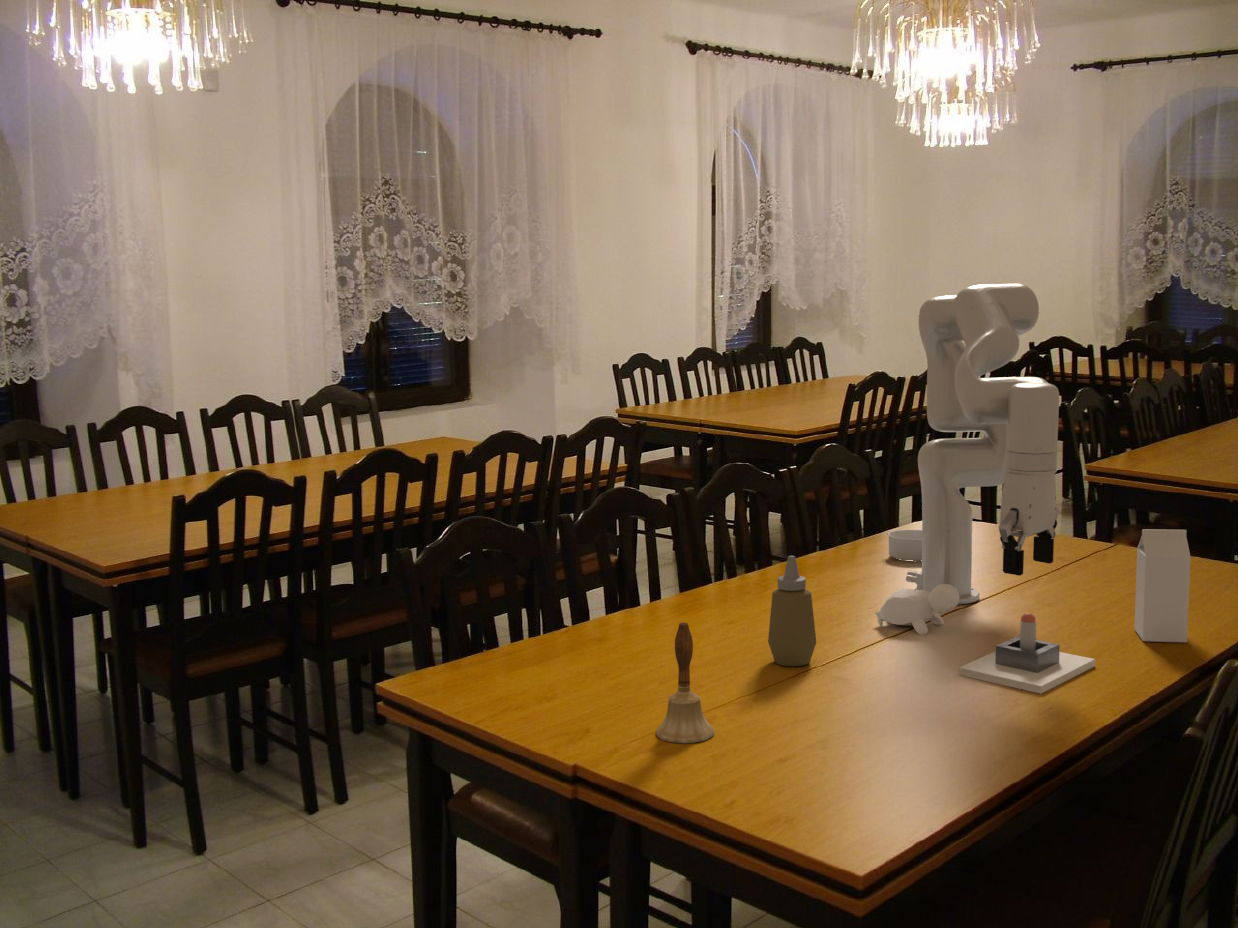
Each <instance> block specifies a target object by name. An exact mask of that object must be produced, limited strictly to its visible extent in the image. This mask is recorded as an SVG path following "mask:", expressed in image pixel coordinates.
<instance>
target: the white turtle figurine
mask: <svg viewBox="0 0 1238 928" xmlns="http://www.w3.org/2000/svg"><path fill="white" fill-rule="evenodd" d="M914 589H915V588H913V589H912V588H901V589H898V590H896V591H894V592H893V593H891V594H890V595H889V596H888V598H887V599H886V600H885V602H884V603H883V604H882V606H881V607H880V610H878V611H877V612H875V615H876V618H877V623H878V626H879V627H883V625H884V622H886V623H887V624H893V625H898V626H904V627H905V626H906V627H907V626H913V628H914V630H915V631H916V633H917V634H918V635H920V636H925V635H927V634H928V632H929V628H928V626H927V623H926V622H928V621H930V622H932V623H933V624H934V625H936V626H943V624H944V619H943V618H942V616H941V615H940V614H941V613H944V612H945V613H946V612H951V611H952V610H954V608H955V607H956V606H958V605H959V604H958V602H959V594H958V592H957V589H956V588H955V587H953V586H952V585H949V584H940V585H938V586H937V587H935V588H934V589H933V590H932V591H931V593H930V592H928V591H926V590H914Z"/></svg>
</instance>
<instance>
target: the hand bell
mask: <svg viewBox="0 0 1238 928" xmlns="http://www.w3.org/2000/svg"><path fill="white" fill-rule="evenodd" d="M676 631H677V632H676V634H675V638H674V653H675V659H676V662H677V667H678V674H677V675H678V682H677V691H676V692H674V693H672V694H671V695H670V696H669V697H668V701H667V702H668V704H667V709H666V714H665V717H664V719H663V720H662V723H661V724H660V725H659V726H657V729H656V730H655V735H656V736H657V738H659V739H660V740H662V741H665V742H668V743H675V744H676V743H677V744H695V743H699V742H700V743H701V742H705V741H707V740H710V739H711V738H712V737H714V736H715V733H716V732H715V729H714V727H713V726H712V724H710V723H709V722H708V721H707V719H706V717H705V716H704V712H703V708H702V701H701V697H700V696H699V695H698V694H697V693H695V692H692V691H691V687H690V686H691V681H690V680H691V677H690V676H691V675H690V671H691V670H690V666H691V662H692V658H693V652H694V641H693V636H692V633H691V630H690V626H689V623H688V622H680V623H678V629H677V630H676Z"/></svg>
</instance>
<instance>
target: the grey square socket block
mask: <svg viewBox="0 0 1238 928" xmlns="http://www.w3.org/2000/svg"><path fill="white" fill-rule="evenodd" d="M995 651H996V661H995V664H998V665H1003V666H1008V667H1012V668H1017V669H1021V670H1026V671H1030V672H1035V673H1039V672H1041V671H1043V670H1045V669H1047V668H1049V667H1051V666H1053V665H1055V664H1057V663H1059V652H1060V643H1054V642H1048V641H1045V640H1041V639H1040V640H1039V639H1036V650H1035V651H1030V650H1026V649H1021V648H1020V635H1018V636H1014V637H1012V638H1010V639H1008V640H1006V641H1004V642H1001V643H998V644H996V645H995Z"/></svg>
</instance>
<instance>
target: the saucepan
mask: <svg viewBox="0 0 1238 928" xmlns="http://www.w3.org/2000/svg"><path fill="white" fill-rule="evenodd" d="M886 535H887V536H888V556H889V557H892V558H893V557H894V558H893V559H895V558H897V559H901V560H913V561H921V560H922V529H898V530H896V529H895V530H891V531H888V532H887V534H886Z"/></svg>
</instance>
